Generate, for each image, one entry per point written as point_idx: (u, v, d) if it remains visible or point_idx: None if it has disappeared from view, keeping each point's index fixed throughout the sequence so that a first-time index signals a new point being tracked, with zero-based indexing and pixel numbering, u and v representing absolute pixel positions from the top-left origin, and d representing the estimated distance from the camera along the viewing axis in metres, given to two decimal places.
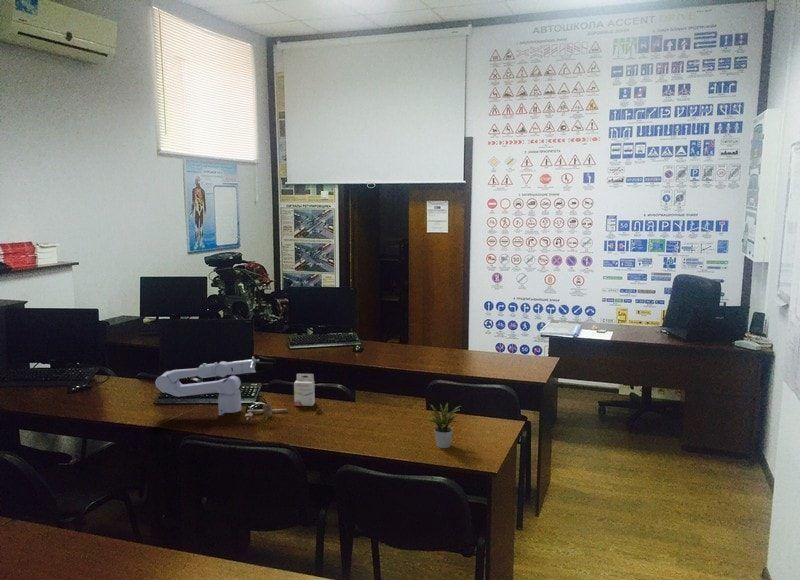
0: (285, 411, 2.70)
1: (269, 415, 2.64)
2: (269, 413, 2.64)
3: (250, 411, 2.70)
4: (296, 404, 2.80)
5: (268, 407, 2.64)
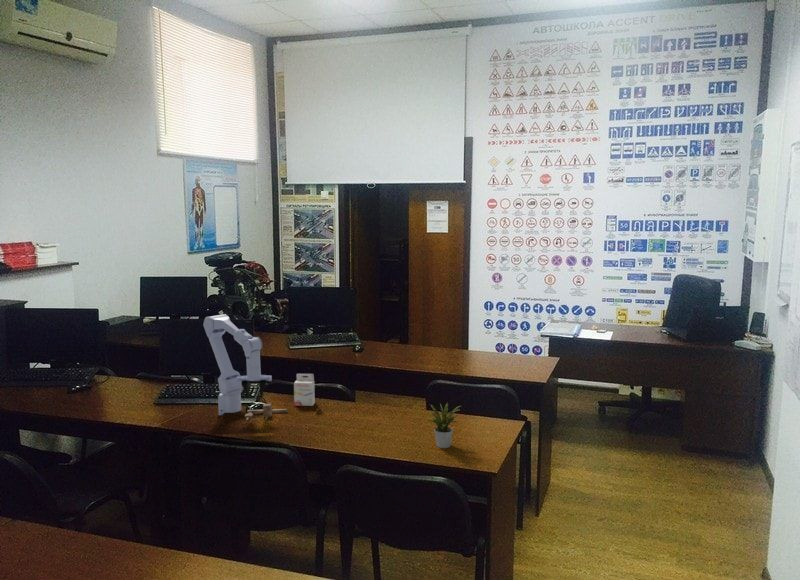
0: (285, 411, 2.70)
1: (269, 415, 2.64)
2: (269, 413, 2.64)
3: (250, 411, 2.70)
4: (296, 404, 2.80)
5: (268, 407, 2.64)
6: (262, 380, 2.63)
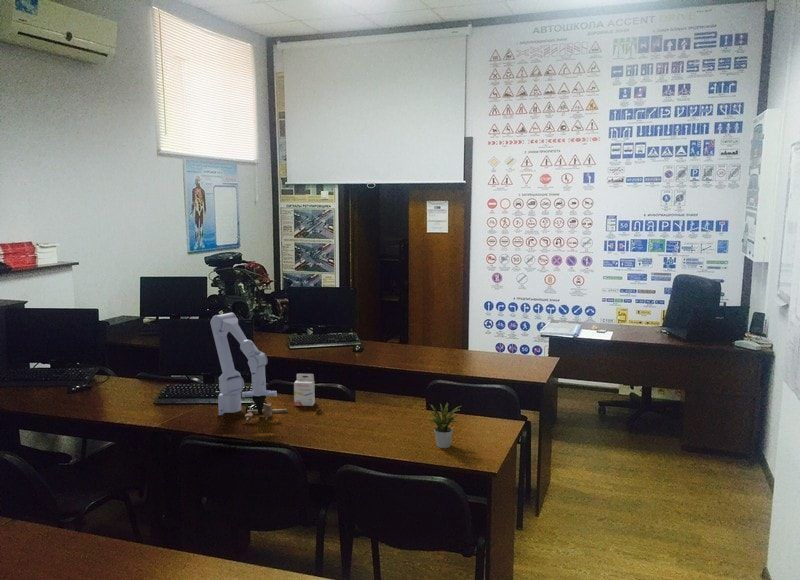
0: (285, 411, 2.70)
1: (269, 415, 2.64)
2: (269, 413, 2.64)
3: (250, 411, 2.70)
4: (296, 404, 2.80)
5: (268, 407, 2.64)
6: (267, 395, 2.64)
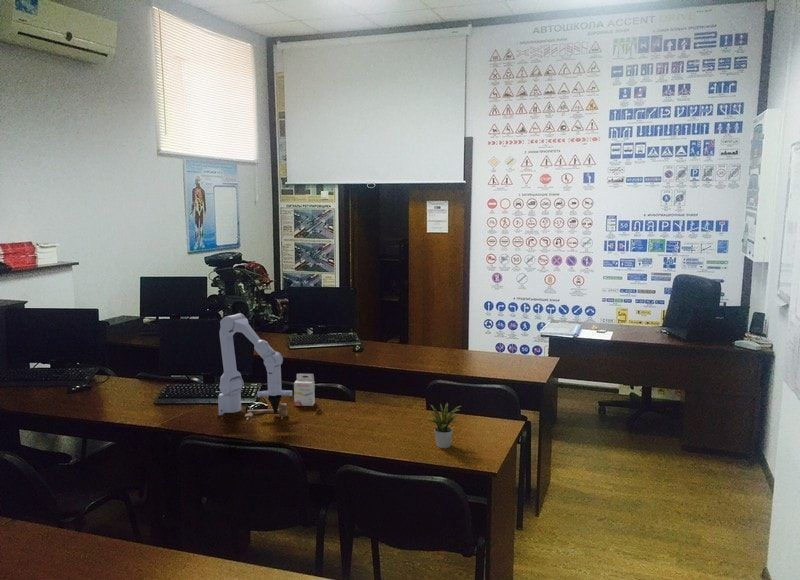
0: None
1: (284, 415, 2.65)
2: (285, 413, 2.65)
3: (250, 411, 2.70)
4: (296, 404, 2.80)
5: (284, 407, 2.64)
6: (283, 395, 2.64)
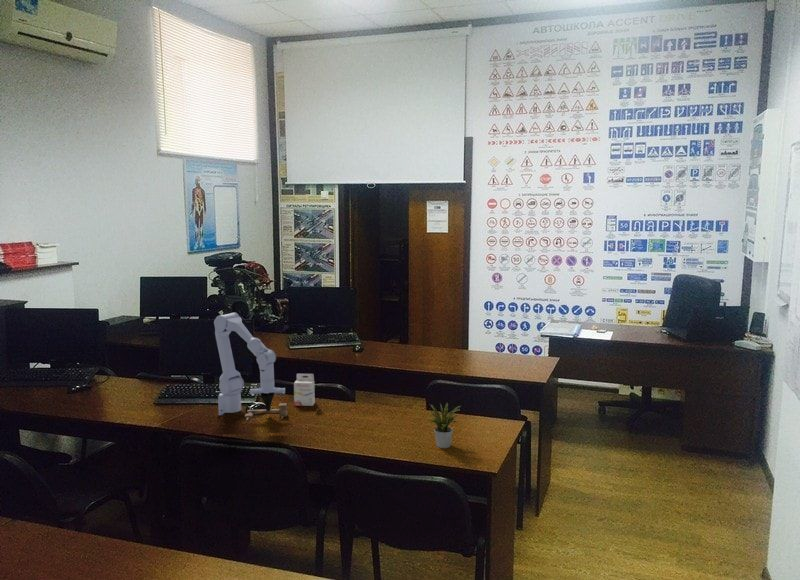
0: None
1: (284, 415, 2.65)
2: (285, 413, 2.65)
3: (250, 411, 2.70)
4: (296, 404, 2.80)
5: (284, 407, 2.64)
6: None
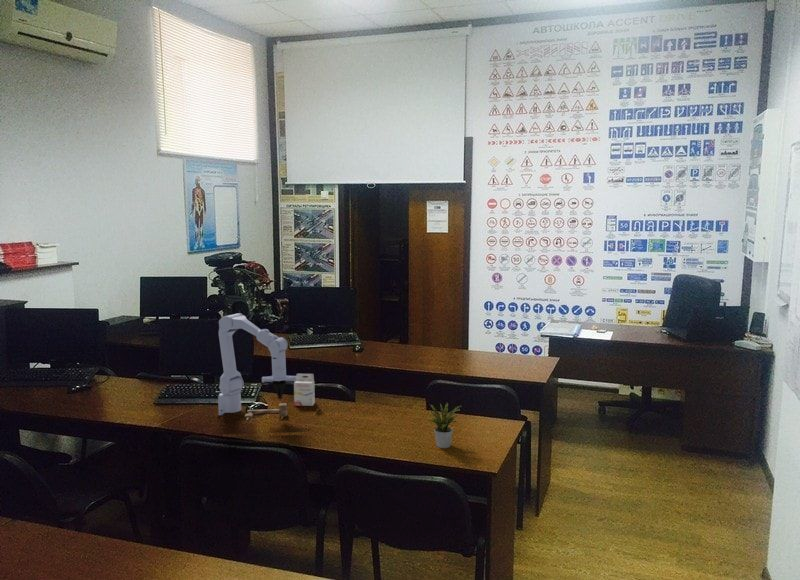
0: None
1: (284, 415, 2.65)
2: (285, 413, 2.65)
3: (250, 411, 2.70)
4: (296, 404, 2.80)
5: (284, 407, 2.64)
6: None
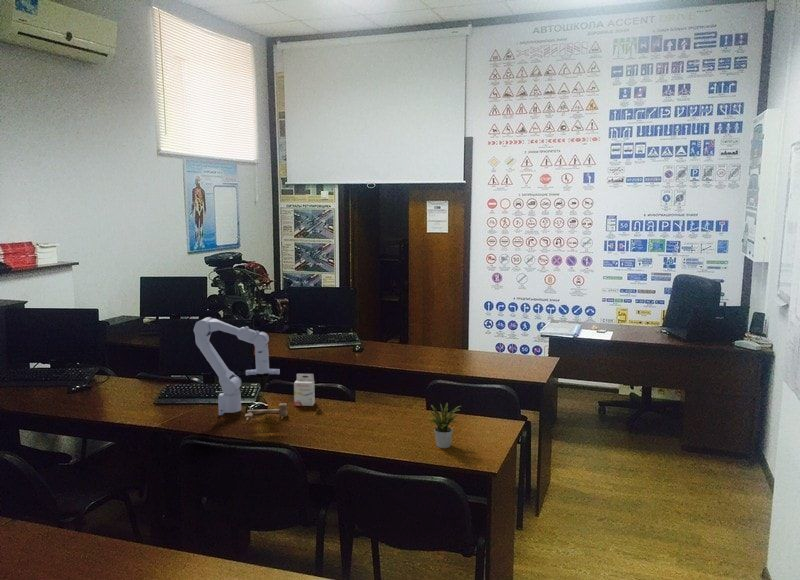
0: None
1: (284, 415, 2.65)
2: (285, 413, 2.65)
3: (250, 411, 2.70)
4: (296, 404, 2.80)
5: (284, 407, 2.64)
6: (270, 373, 2.72)
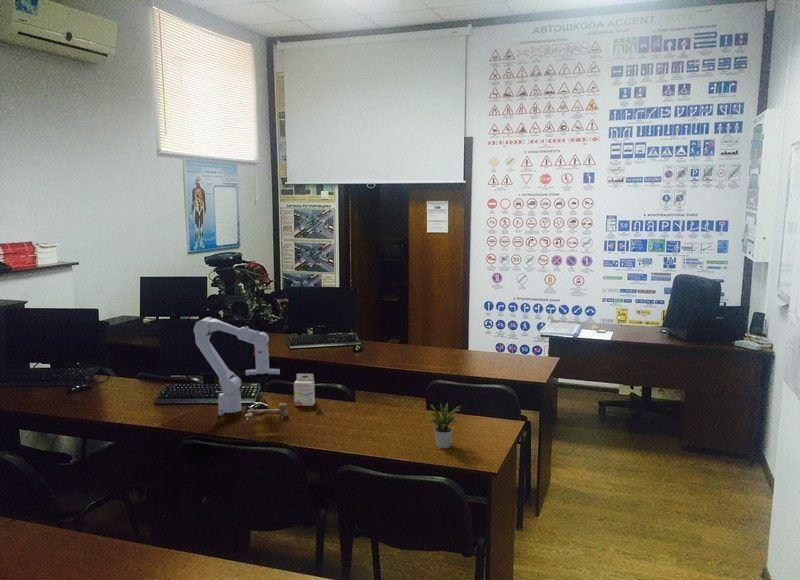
0: None
1: (284, 415, 2.65)
2: (285, 413, 2.65)
3: (250, 411, 2.70)
4: (296, 404, 2.80)
5: (284, 407, 2.64)
6: (270, 373, 2.72)
